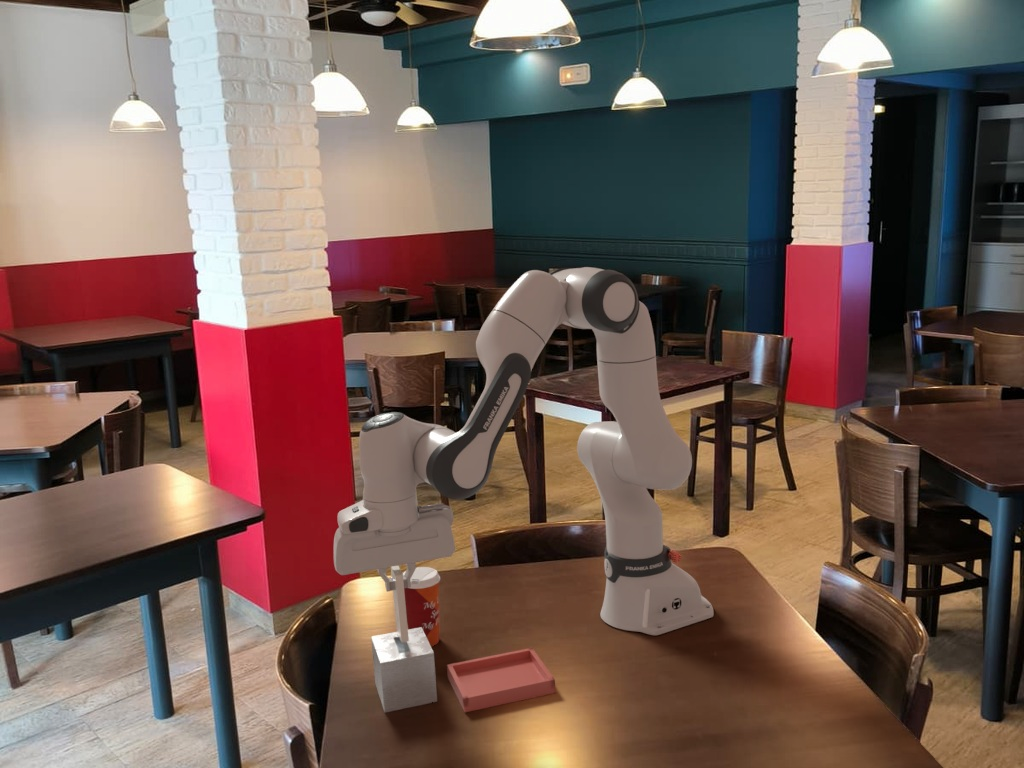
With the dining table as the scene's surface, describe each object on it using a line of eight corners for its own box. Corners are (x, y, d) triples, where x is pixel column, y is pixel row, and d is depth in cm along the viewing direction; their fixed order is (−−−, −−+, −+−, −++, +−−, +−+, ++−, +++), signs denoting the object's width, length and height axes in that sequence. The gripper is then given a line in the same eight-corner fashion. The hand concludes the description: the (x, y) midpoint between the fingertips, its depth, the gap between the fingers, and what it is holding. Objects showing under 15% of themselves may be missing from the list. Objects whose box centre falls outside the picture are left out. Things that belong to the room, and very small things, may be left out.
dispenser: (425, 673, 160) (421, 627, 158) (437, 701, 151) (433, 652, 149) (375, 683, 158) (371, 636, 156) (384, 712, 148) (380, 663, 146)
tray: (532, 660, 163) (532, 647, 162) (555, 692, 152) (554, 679, 151) (447, 677, 158) (446, 664, 158) (464, 712, 147) (463, 698, 147)
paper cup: (438, 652, 168) (433, 582, 165) (399, 650, 169) (393, 581, 166) (449, 632, 175) (444, 566, 172) (412, 630, 177) (407, 564, 174)
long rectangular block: (403, 628, 155) (397, 563, 152) (408, 641, 150) (402, 574, 148) (396, 629, 154) (390, 564, 152) (401, 642, 150) (395, 575, 147)
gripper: (447, 495, 154) (453, 570, 156) (328, 514, 148) (336, 591, 151) (456, 506, 148) (462, 584, 150) (332, 526, 142) (340, 607, 145)
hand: (398, 588), depth 150 cm, fingers closed on long rectangular block, 1 cm apart
